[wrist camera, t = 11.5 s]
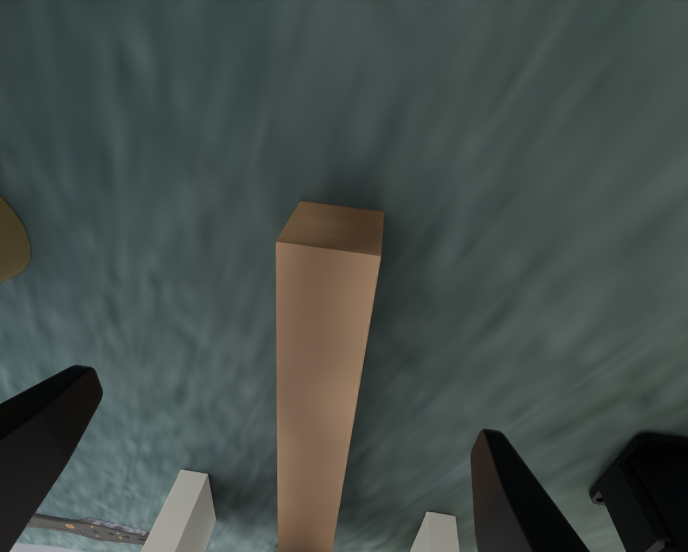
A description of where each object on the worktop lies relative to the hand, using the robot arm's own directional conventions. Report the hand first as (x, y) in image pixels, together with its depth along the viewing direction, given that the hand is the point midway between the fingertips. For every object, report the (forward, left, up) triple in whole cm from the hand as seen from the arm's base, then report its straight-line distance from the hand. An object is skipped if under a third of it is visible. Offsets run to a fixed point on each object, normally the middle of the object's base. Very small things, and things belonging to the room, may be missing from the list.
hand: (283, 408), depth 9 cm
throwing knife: (+20, +34, -10) cm, 40 cm away
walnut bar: (0, +11, -9) cm, 14 cm away
